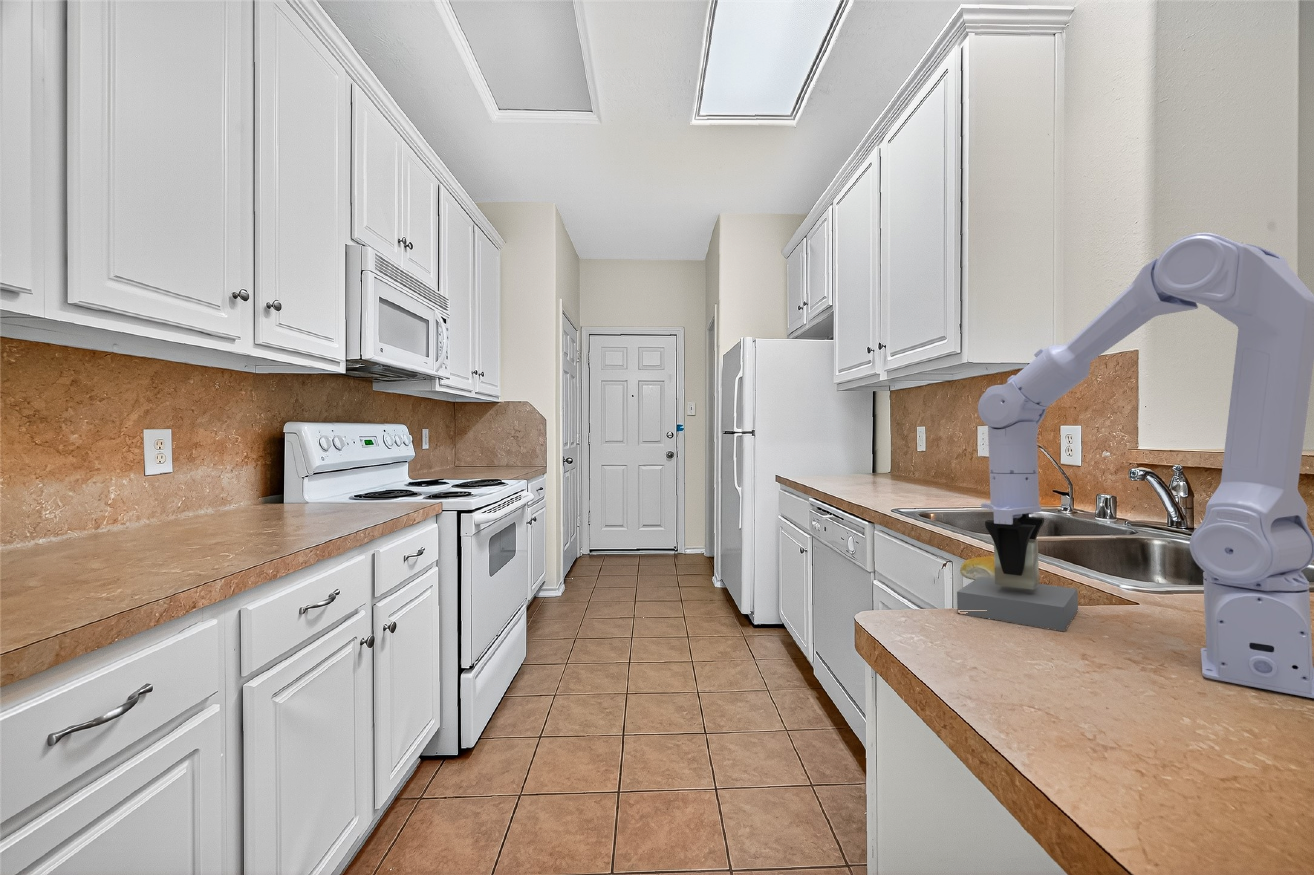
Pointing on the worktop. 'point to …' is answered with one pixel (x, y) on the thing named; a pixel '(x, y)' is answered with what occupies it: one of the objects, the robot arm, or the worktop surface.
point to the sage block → (1030, 571)
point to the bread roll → (978, 568)
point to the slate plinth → (1019, 603)
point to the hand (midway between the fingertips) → (1016, 571)
